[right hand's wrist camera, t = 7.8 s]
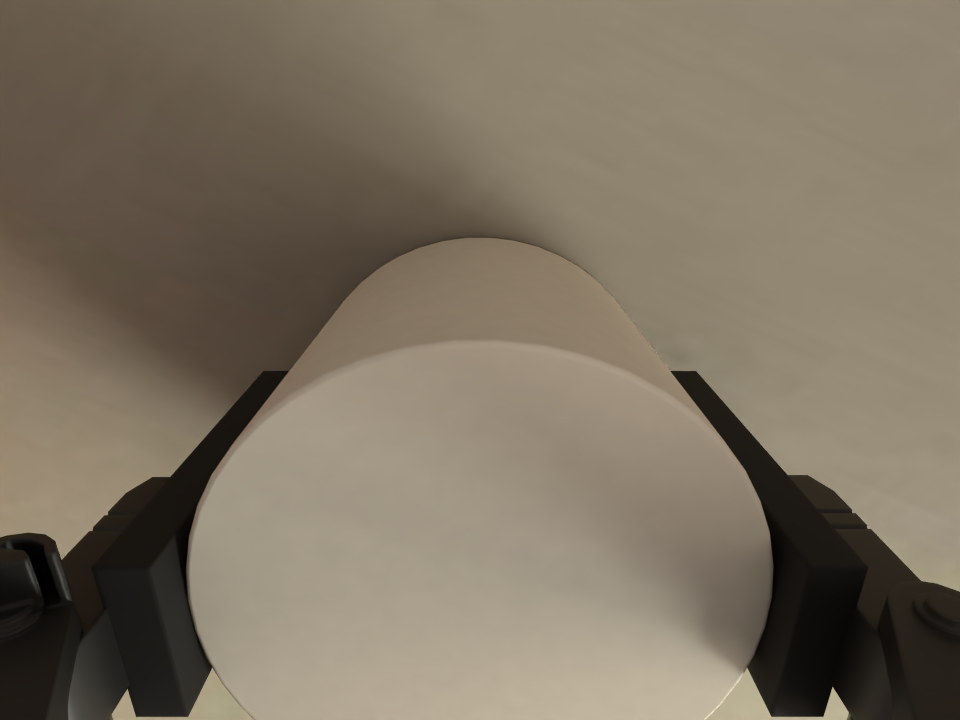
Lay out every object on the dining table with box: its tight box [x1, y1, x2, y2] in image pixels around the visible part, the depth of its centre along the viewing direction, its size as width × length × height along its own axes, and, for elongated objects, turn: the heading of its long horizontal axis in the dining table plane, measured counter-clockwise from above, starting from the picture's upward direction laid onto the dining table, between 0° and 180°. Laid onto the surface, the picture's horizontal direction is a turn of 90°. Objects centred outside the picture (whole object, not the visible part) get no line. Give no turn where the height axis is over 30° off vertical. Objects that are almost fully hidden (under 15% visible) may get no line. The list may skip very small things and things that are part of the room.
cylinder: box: [186, 238, 773, 720], centre depth 12 cm, size 8×8×7 cm
